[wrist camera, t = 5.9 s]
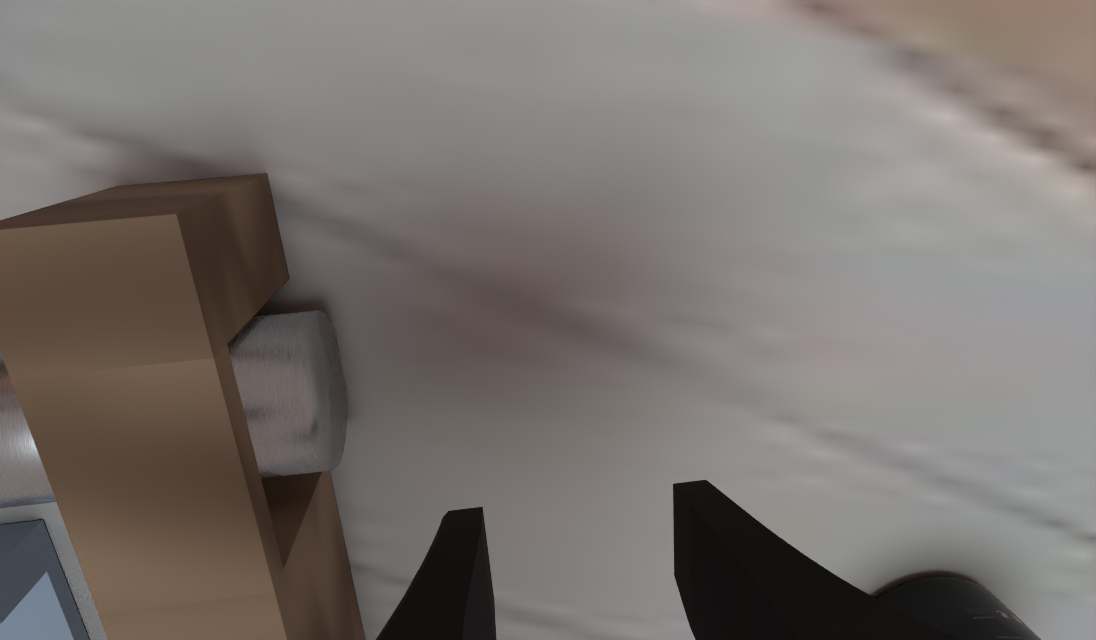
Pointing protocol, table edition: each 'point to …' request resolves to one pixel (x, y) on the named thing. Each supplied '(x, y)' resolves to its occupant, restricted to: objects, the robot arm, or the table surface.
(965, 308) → the table surface
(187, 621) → the beam
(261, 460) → the axle
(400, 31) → the table surface
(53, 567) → the cradle
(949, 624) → the supplement bottle
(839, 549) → the table surface
